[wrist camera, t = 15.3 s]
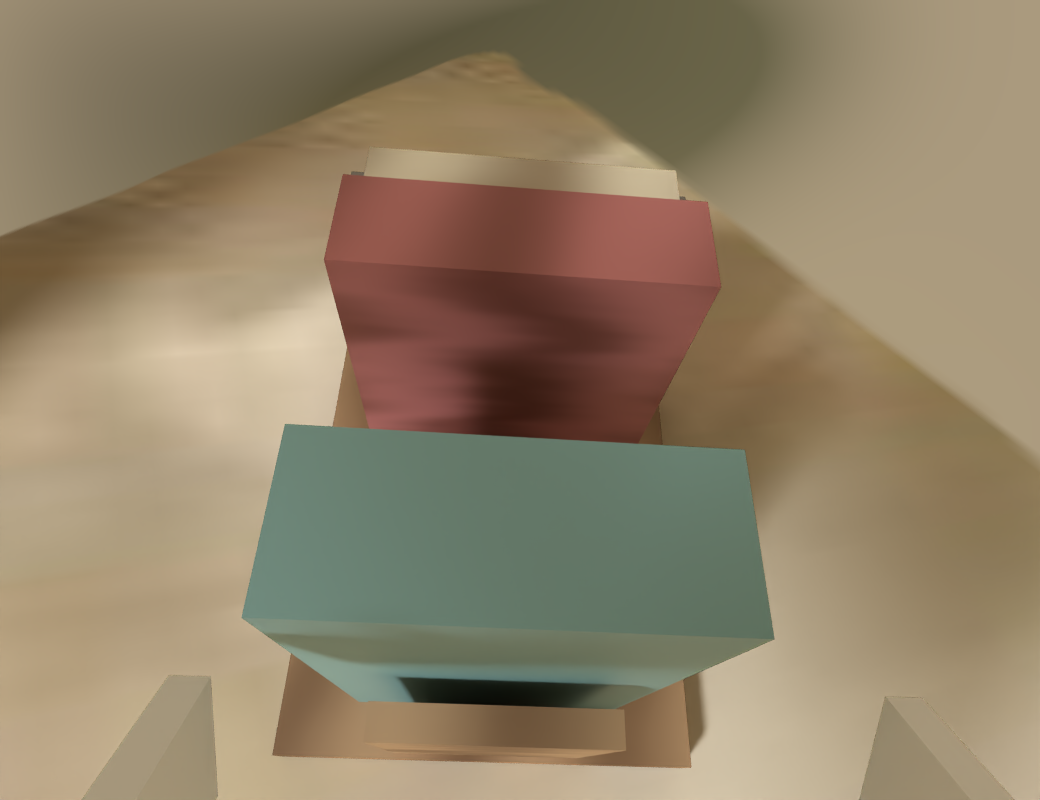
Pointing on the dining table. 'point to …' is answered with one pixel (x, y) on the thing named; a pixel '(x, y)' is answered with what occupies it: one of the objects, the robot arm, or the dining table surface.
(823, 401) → the dining table surface
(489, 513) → the book
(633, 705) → the book rack
